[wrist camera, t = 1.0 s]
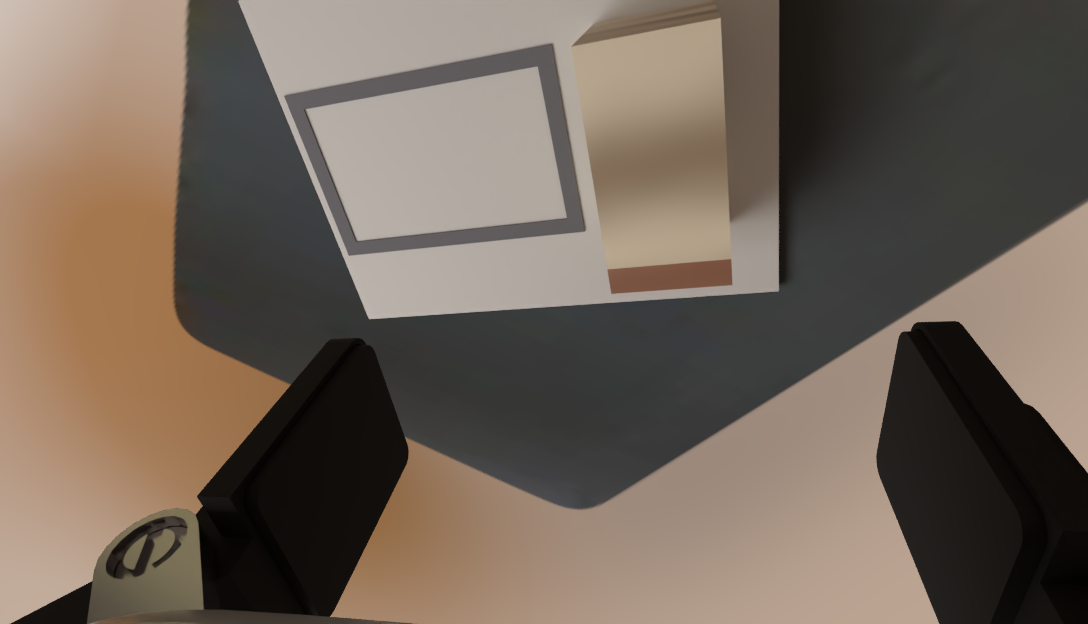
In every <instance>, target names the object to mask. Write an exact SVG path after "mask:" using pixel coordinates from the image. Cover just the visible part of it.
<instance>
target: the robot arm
mask: <svg viewBox="0 0 1088 624" xmlns="http://www.w3.org/2000/svg"><path fill="white" fill-rule="evenodd" d="M407 460H408V445H407V442H406V439H405V437H404V434H403V431H402V428H401V425H400V422H399V420H398V417H397V414H396V411H395V408H394V405H393V402H392V400H391V397H390V394H389V391H388V388H387V385H386V383H385V380H384V377H383V374H382V371H381V368H380V366H379V363H378V360H377V357H376V354H375V352H374V349H373V348H372V347H371V346H369V345H366V343H365V342H364V341H363V340H362V339H360V338H343V339H331V340H329V341H328V342H327V343H326V344H325V345H324V347H323V348H322V349H321V350H320V351H319V353H318V354H317V355H316V356H315V357H314V358H313V360H312V361H311V362H310V363H309V364H308V366H307V367H306V368H305V369H304V370H303V371H302V373H301V374H300V375H299V376H298V377H297V379H296V380H295V381H294V382H293V383H292V384H291V386H290V387H289V388H288V389H287V390H286V392H285V393H284V394H283V395H282V396H281V397H280V399H279V400H278V401H277V402H276V403H275V405H274V406H273V407H272V408H271V409H270V411H269V412H268V413H267V414H266V415H265V417H264V418H263V419H262V420H261V421H260V422H259V424H258V425H257V426H256V427H255V428H254V429H253V431H252V432H251V433H250V434H249V435H248V437H247V438H246V439H245V440H244V441H243V443H242V444H241V445H240V446H239V447H238V449H237V450H236V451H235V452H234V453H233V454H232V456H231V457H230V458H229V459H228V460H227V461H226V463H225V464H224V465H223V466H222V467H221V469H220V470H219V471H218V472H217V473H216V474H215V476H214V477H213V478H212V479H211V480H210V482H209V483H208V484H207V485H206V486H205V487H204V489H203V490H202V491H201V492H200V493H199V495H198V496H197V497H198V499H199V500H200V502H201V504H202V505H203V507H202V508H201V509H200V510H199V511H198V513H197V514H196V515H195V514H194V513H192V512H191V511H189V510H187V509H179V508H175V509H169V510H163V511H160V512H158V513H155V514H152V515H149V516H147V517H146V518H143V519H141V520H140V521H138V522H136V523H134V524H133V525H131V526H130V527H128V528H127V529H126V530H124V531H123V532H122V533H120V534H119V535H118V536H117V537H116V538H115V539H114V540H113V541H112V542H111V543H110V544H109V545H108V546H107V547H106V548H105V550H104V551H103V553H102V554H101V556H100V557H99V559H98V561H97V564H96V567H95V569H94V575H93V581H92V582H90V583H88V584H86V585H84V586H82V587H80V588H79V589H76V590H75V591H73V592H71V593H69V594H67V595H65V596H63V597H61V598H59V599H57V600H55V601H53V602H51V603H49V604H47V605H46V606H44V607H42V608H40V609H38V610H36V611H34V612H32V613H30V614H28V615H26V616H24V617H22V618H21V619H19V620H17V621H15V622H13V623H11V624H411V623H398V622H387V621H374V620H362V619H350V618H337V617H330V616H331V614H332V613H333V611H334V610H335V608H336V605H337V604H338V602H339V600H340V597H341V595H342V593H343V591H344V589H345V587H346V585H347V583H348V581H349V579H350V577H351V575H352V573H353V571H354V569H355V567H356V565H357V563H358V561H359V559H360V557H361V555H362V553H363V551H364V549H365V547H366V545H367V543H368V541H369V539H370V537H371V535H372V533H373V531H374V529H375V527H376V525H377V523H378V520H379V518H380V517H381V514H382V512H383V510H384V509H385V506H386V504H387V502H388V500H389V498H390V496H391V494H392V492H393V490H394V488H395V486H396V484H397V482H398V480H399V478H400V476H401V474H402V472H403V470H404V468H405V466H406V464H407ZM877 468H878V472H879V476H880V479H881V481H882V483H883V486H884V488H885V491H886V493H887V496H888V498H889V501H890V503H891V506H892V508H893V510H894V513H895V515H896V518H897V520H898V523H899V525H900V528H901V530H902V533H903V535H904V538H905V540H906V543H907V545H908V547H909V550H910V552H911V555H912V557H913V560H914V562H915V565H916V567H917V569H918V572H919V575H920V577H921V580H922V582H923V584H924V587H925V589H926V592H927V594H928V597H929V599H930V602H931V604H932V606H933V609H934V611H935V614H936V616H937V619H938V621H939V624H1088V473H1087V472H1086V471H1085V469H1084V468H1083V467H1082V465H1081V464H1080V463H1079V462H1078V461H1077V459H1076V458H1075V457H1074V455H1073V454H1072V453H1071V452H1070V451H1069V449H1068V448H1067V447H1066V446H1065V444H1064V443H1063V442H1062V441H1061V439H1060V438H1059V437H1058V436H1057V434H1056V433H1055V432H1054V431H1053V429H1052V428H1051V427H1050V426H1049V424H1048V423H1047V422H1046V421H1045V419H1044V418H1043V417H1042V416H1041V414H1040V413H1039V412H1038V411H1037V410H1035V409H1034V408H1033V407H1032V406H1030V405H1027V404H1024V403H1023V402H1022V401H1021V399H1020V398H1019V397H1018V395H1017V394H1016V393H1015V392H1014V390H1013V389H1012V388H1011V387H1010V385H1009V384H1008V383H1007V382H1006V380H1005V379H1004V378H1003V376H1002V375H1001V374H1000V372H999V371H998V370H997V369H996V367H995V366H994V365H993V364H992V362H991V361H990V360H989V358H988V357H987V356H986V355H985V353H984V352H983V351H982V350H981V348H980V347H979V346H978V344H977V343H976V342H975V341H974V339H973V338H972V337H971V336H970V334H969V333H968V332H967V330H966V329H965V328H964V327H963V325H961V324H960V323H959V322H956V321H948V322H917V323H915V324H914V325H913V327H912V329H911V331H909V332H902V333H901V334H900V336H899V339H898V344H897V349H896V354H895V360H894V365H893V371H892V375H891V381H890V386H889V391H888V397H887V402H886V408H885V413H884V417H883V423H882V428H881V434H880V438H879V444H878V449H877Z"/></svg>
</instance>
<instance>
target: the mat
mask: <svg viewBox="0 0 1088 624" xmlns="http://www.w3.org/2000/svg"><path fill="white" fill-rule="evenodd" d="M707 1H712V0H239V1H238V2H239V4H240V7H241V9H242V12H243V14H244V16H245V19H246V21H247V24H248V26H249V29H250V31H251V33H252V36H253V38H254V41H255V43H256V46H257V48H258V50H259V53H260V55H261V58H262V60H263V63H264V65H265V67H266V70H267V72H268V75H269V77H270V80H271V82H272V84H273V87H274V89H275V92H276V94H277V97H278V99H279V101H280V104H281V106H282V109H283V111H284V114H285V116H286V118H287V121H288V123H289V126H290V128H291V131H292V133H293V135H294V138H295V140H296V143H297V145H298V148H299V150H300V152H301V155H302V157H303V160H304V162H305V165H306V167H307V169H308V172H309V174H310V177H311V179H312V182H313V184H314V186H315V189H316V191H317V194H318V196H319V199H320V201H321V203H322V206H323V208H324V211H325V213H326V216H327V218H328V220H329V223H330V225H331V228H332V230H333V233H334V235H335V237H336V240H337V242H338V245H339V247H340V250H341V252H342V254H343V257H344V259H345V262H346V264H347V267H348V269H349V272H350V274H351V276H352V279H353V281H354V284H355V286H356V289H357V291H358V293H359V296H360V298H361V301H362V303H363V306H364V308H365V310H366V313H367V315H368V318H369V319H378V318H393V317H408V316H422V315H437V314H452V313H466V312H481V311H496V310H510V309H525V308H540V307H554V306H569V305H584V304H598V303H613V302H628V301H642V300H657V299H672V298H686V297H701V296H716V295H730V294H745V293H760V292H774V291H779V0H714V2H715V5H716V7H717V10H718V12H719V15H720V17H721V35H722V58H723V81H724V104H725V127H726V149H727V172H728V195H729V218H730V241H731V263H732V285H728V286H714V287H700V288H686V289H672V290H659V291H645V292H631V293H617V294H611V289H610V283H609V277H608V271H607V265H606V258H605V252H604V246H603V240H602V234H601V228H600V222H599V216H598V209H597V203H596V197H595V191H594V185H593V179H592V173H591V167H590V160H589V154H588V148H587V142H586V136H585V130H584V124H583V118H582V111H581V105H580V99H579V93H578V87H577V81H576V75H575V69H574V62H573V56H572V50H571V46H572V45H573V44H574V43H575V42H576V41H577V40H578V39H579V38H580V37H581V36H582V35H583V34H584V33H585V32H586V31H587V30H588V29H589V28H590V27H591V26H592V25H593V24H597V23H602V22H607V21H612V20H617V19H622V18H627V17H632V16H637V15H642V14H647V13H652V12H657V11H662V10H667V9H672V8H677V7H682V6H687V5H692V4H697V3H702V2H707Z"/></svg>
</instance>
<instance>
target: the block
mask: <svg viewBox="0 0 1088 624" xmlns="http://www.w3.org/2000/svg"><path fill="white" fill-rule="evenodd" d="M571 50H572V56H573V62H574V69H575V75H576V81H577V87H578V93H579V99H580V105H581V111H582V118H583V124H584V130H585V136H586V142H587V148H588V154H589V160H590V167H591V173H592V179H593V185H594V191H595V197H596V203H597V209H598V216H599V222H600V228H601V234H602V240H603V246H604V252H605V258H606V265H607V271H608V277H609V283H610V289H611V294H617V293H631V292H645V291H659V290H672V289H686V288H700V287H714V286H728V285H732V263H731V241H730V218H729V195H728V172H727V149H726V127H725V104H724V81H723V58H722V35H721V17H720V15H719V12H718V10H717V7H716V5H715V2H714V0H712V1H707V2H702V3H697V4H692V5H687V6H682V7H677V8H672V9H667V10H662V11H657V12H652V13H647V14H642V15H637V16H632V17H627V18H622V19H617V20H612V21H607V22H602V23H597V24H593V25H592V26H591V27H590V28H589V29H588V30H587V31H586V32H585V33H584V34H583V35H582V36H581V37H580V38H579V39H578V40H577V41H576V42H575V43H574V44H573V45H572V46H571Z"/></svg>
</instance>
